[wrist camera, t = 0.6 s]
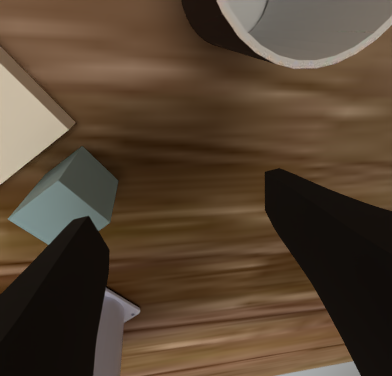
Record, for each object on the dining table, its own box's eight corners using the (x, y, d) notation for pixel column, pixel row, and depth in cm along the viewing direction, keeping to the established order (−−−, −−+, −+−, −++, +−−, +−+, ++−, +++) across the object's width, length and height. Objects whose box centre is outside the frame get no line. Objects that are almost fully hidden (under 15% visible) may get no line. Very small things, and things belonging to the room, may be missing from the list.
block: (84, 205, 20) (64, 254, 15) (45, 174, 18) (7, 219, 13) (118, 180, 20) (110, 222, 15) (82, 145, 18) (58, 180, 13)
